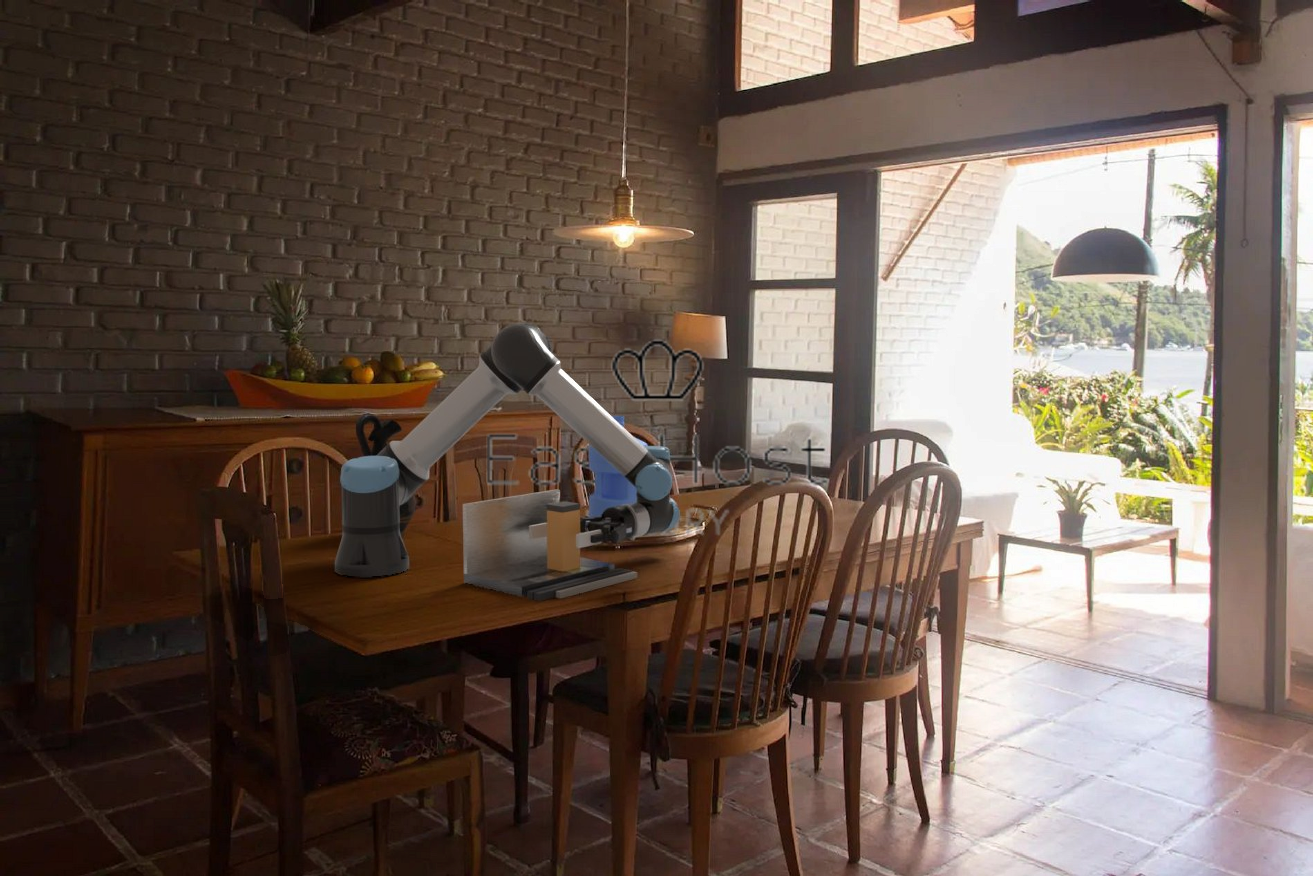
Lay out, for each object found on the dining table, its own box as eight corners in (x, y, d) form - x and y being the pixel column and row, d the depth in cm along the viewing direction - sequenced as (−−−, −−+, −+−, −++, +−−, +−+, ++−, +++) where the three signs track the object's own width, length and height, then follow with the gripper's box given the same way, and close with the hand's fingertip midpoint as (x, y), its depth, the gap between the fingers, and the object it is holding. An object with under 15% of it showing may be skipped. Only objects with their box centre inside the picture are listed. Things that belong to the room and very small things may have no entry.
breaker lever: (562, 571, 213) (562, 506, 212) (547, 568, 216) (546, 504, 214) (580, 567, 217) (580, 503, 215) (564, 564, 220) (564, 501, 218)
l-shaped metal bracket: (521, 597, 201) (520, 513, 199) (463, 583, 212) (462, 504, 210) (614, 573, 221) (614, 497, 219) (557, 561, 232) (556, 489, 230)
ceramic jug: (390, 526, 272) (387, 410, 269) (428, 534, 262) (426, 413, 259) (332, 536, 259) (329, 414, 256) (370, 544, 249) (367, 417, 246)
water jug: (623, 515, 290) (623, 413, 287) (660, 523, 278) (660, 417, 275) (576, 521, 280) (576, 416, 277) (612, 530, 268) (612, 420, 265)
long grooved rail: (544, 602, 197) (544, 595, 197) (527, 598, 200) (527, 591, 200) (637, 578, 217) (637, 571, 217) (619, 574, 220) (619, 567, 220)
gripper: (668, 547, 222) (598, 564, 206) (582, 532, 238) (511, 546, 222) (668, 511, 221) (598, 525, 205) (582, 499, 237) (511, 511, 221)
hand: (553, 536), depth 213 cm, fingers open, 13 cm apart
